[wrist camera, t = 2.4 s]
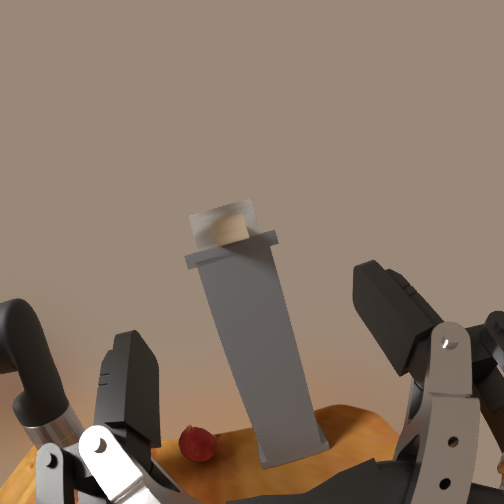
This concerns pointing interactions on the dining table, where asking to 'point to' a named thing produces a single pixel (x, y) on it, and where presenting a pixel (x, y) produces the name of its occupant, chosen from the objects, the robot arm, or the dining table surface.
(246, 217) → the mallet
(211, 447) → the onion
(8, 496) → the dining table surface
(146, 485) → the robot arm
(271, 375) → the stand
